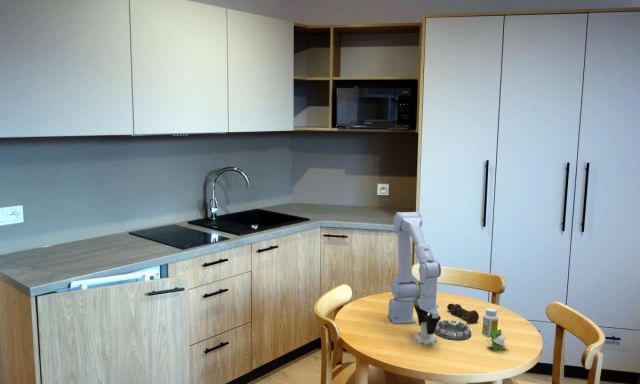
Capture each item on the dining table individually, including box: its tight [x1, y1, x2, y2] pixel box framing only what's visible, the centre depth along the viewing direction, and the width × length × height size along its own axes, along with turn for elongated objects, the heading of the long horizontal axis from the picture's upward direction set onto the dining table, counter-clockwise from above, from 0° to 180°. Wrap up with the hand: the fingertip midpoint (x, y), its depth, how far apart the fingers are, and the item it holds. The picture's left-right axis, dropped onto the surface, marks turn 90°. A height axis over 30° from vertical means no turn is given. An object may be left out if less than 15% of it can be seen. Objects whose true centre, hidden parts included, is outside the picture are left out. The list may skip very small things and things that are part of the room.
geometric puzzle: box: [485, 329, 505, 351], centre depth 190 cm, size 7×7×8 cm
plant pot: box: [413, 281, 421, 307], centre depth 232 cm, size 9×9×9 cm
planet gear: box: [413, 322, 438, 346], centre depth 195 cm, size 8×8×6 cm
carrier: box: [434, 319, 472, 341], centre depth 203 cm, size 14×14×2 cm
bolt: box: [446, 303, 480, 325], centre depth 219 cm, size 6×5×15 cm
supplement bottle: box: [481, 307, 499, 337], centre depth 202 cm, size 5×5×10 cm
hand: (426, 329), depth 195 cm, fingers open, 7 cm apart
